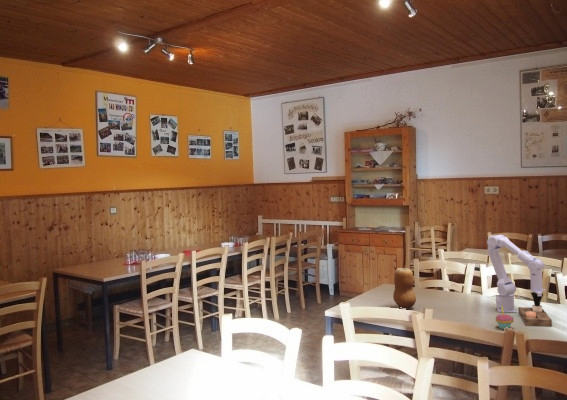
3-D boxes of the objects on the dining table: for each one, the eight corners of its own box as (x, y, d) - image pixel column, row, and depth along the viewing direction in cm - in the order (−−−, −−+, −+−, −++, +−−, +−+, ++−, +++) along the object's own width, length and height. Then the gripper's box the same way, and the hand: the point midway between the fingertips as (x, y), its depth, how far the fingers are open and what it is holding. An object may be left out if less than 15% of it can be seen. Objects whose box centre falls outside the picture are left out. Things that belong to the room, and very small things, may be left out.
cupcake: (492, 326, 249) (491, 303, 248) (507, 324, 249) (507, 302, 249) (501, 331, 240) (500, 308, 239) (517, 329, 241) (516, 306, 240)
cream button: (533, 315, 257) (533, 306, 257) (531, 313, 262) (531, 304, 262) (543, 316, 256) (543, 307, 256) (541, 313, 260) (541, 304, 260)
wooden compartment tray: (526, 325, 246) (526, 319, 246) (518, 313, 267) (518, 307, 267) (551, 326, 243) (551, 319, 242) (542, 313, 264) (541, 307, 263)
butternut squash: (420, 309, 285) (419, 268, 284) (402, 313, 280) (400, 271, 279) (406, 304, 298) (404, 265, 296) (388, 307, 293) (387, 268, 291)
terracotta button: (527, 322, 249) (526, 313, 249) (525, 320, 254) (525, 311, 254) (537, 323, 248) (536, 313, 248) (535, 320, 252) (534, 311, 252)
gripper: (547, 284, 250) (548, 309, 250) (541, 278, 264) (542, 302, 264) (533, 284, 252) (533, 309, 253) (527, 278, 266) (528, 302, 266)
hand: (537, 305), depth 259 cm, fingers closed, pressing on cream button
